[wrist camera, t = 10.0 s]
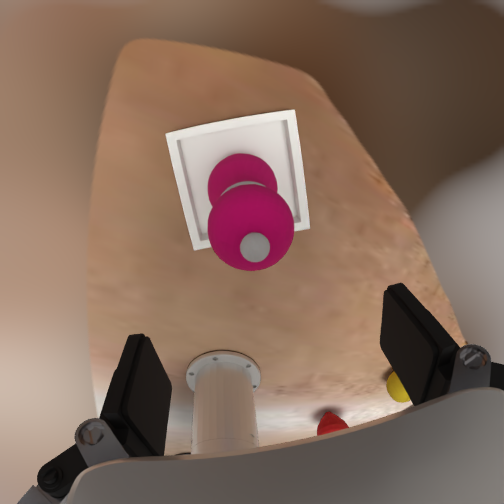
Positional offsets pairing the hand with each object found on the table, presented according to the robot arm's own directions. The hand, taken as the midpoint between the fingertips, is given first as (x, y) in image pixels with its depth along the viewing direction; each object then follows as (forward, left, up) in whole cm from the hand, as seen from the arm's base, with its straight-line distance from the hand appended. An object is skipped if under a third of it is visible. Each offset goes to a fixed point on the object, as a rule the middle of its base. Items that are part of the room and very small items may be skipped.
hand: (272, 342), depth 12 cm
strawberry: (-50, -9, -28) cm, 58 cm away
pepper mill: (0, 0, -27) cm, 27 cm away
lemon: (-42, -23, -28) cm, 55 cm away
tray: (0, 0, -28) cm, 28 cm away
